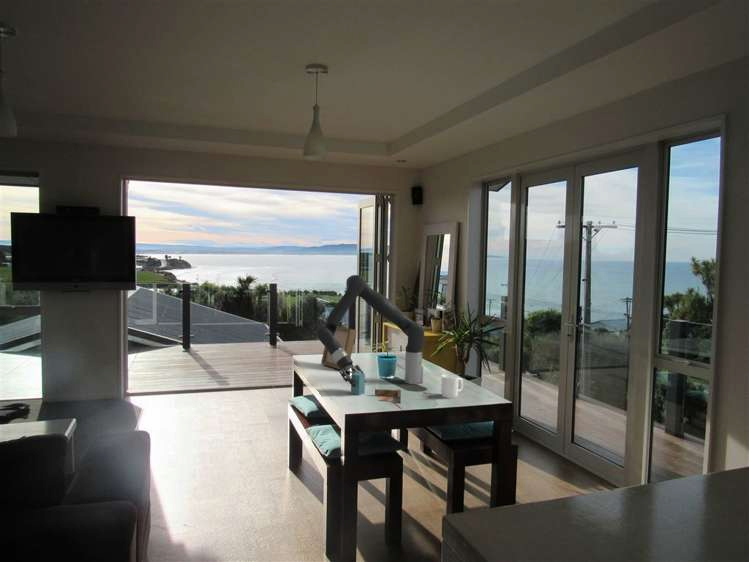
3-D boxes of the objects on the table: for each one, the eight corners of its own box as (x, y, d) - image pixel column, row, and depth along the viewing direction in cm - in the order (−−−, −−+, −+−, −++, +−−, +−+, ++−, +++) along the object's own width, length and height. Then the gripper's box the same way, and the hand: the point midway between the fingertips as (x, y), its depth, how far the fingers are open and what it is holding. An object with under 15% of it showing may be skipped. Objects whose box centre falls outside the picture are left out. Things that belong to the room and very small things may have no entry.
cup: (438, 394, 281) (438, 375, 280) (458, 392, 285) (459, 373, 285) (446, 399, 273) (447, 378, 272) (467, 396, 278) (468, 377, 277)
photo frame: (342, 371, 326) (343, 329, 325) (320, 365, 343) (322, 325, 341) (361, 369, 336) (362, 328, 334) (340, 362, 352) (341, 323, 351)
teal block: (356, 391, 283) (356, 372, 282) (364, 393, 280) (365, 373, 279) (350, 393, 278) (351, 374, 278) (358, 395, 276) (359, 375, 275)
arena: (373, 402, 264) (373, 395, 264) (374, 394, 277) (375, 389, 277) (400, 403, 264) (400, 397, 263) (400, 395, 277) (400, 390, 276)
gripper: (338, 356, 276) (356, 382, 271) (354, 352, 288) (372, 377, 283) (329, 365, 279) (347, 391, 274) (345, 361, 291) (363, 386, 286)
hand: (359, 384), depth 278 cm, fingers open, 8 cm apart
